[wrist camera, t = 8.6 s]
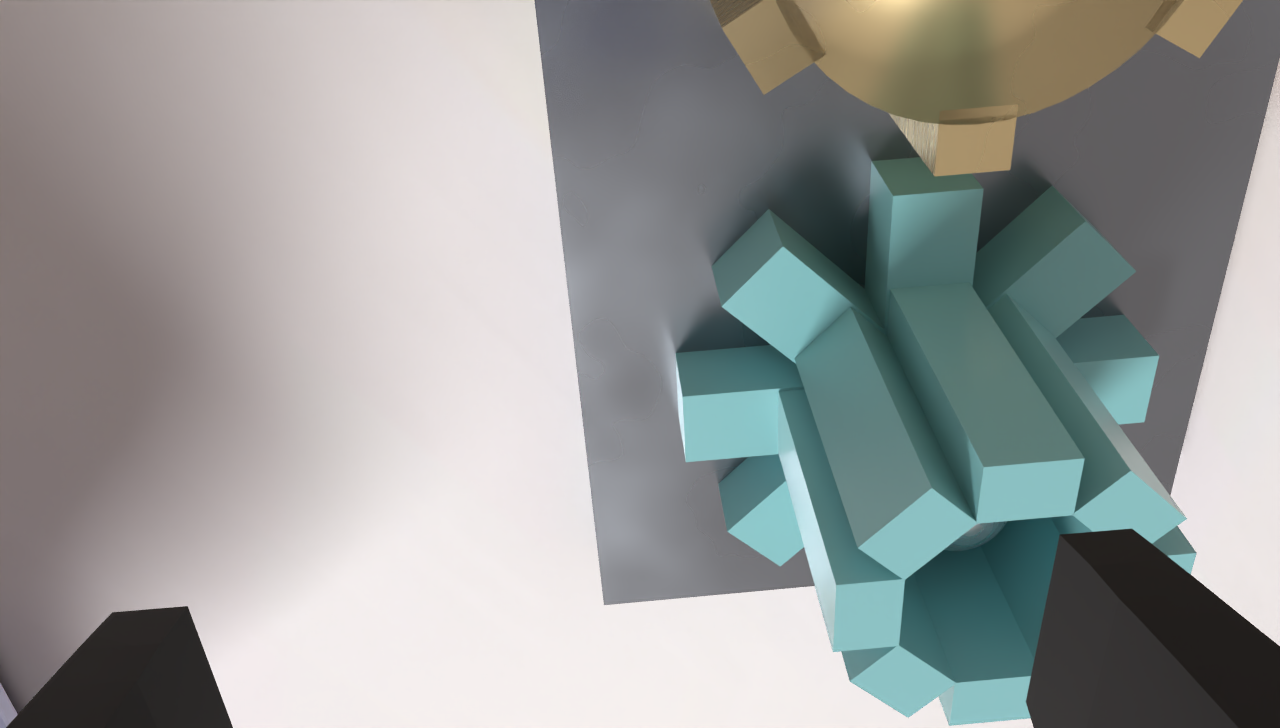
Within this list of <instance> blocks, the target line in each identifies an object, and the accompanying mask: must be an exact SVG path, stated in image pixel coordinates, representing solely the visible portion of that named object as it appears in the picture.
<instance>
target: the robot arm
mask: <svg viewBox="0 0 1280 728" xmlns="http://www.w3.org/2000/svg"><path fill="white" fill-rule="evenodd" d="M1026 704H1027V707H1028V711H1029V714H1030V717H1031V720H1032V723H1033V726H1034V728H1280V646H1278V645H1277V644H1276V643H1275V642H1274V641H1272V640H1271V639H1270V638H1269V637H1267V636H1266V635H1265V634H1264V633H1262V632H1261V631H1260V630H1259V629H1257V628H1256V627H1255V626H1254V625H1252V624H1251V623H1250V622H1249V621H1247V620H1246V619H1245V618H1244V617H1242V616H1241V615H1240V614H1239V613H1237V612H1236V611H1235V610H1234V609H1232V608H1231V607H1230V606H1229V605H1227V604H1226V603H1225V602H1224V601H1223V600H1221V599H1220V598H1219V597H1218V596H1216V595H1215V594H1214V593H1213V592H1211V591H1210V590H1209V589H1208V588H1206V587H1205V586H1204V585H1203V584H1202V583H1200V582H1199V581H1198V580H1197V579H1195V578H1194V577H1193V576H1192V575H1190V574H1189V573H1188V572H1187V571H1185V570H1184V569H1183V568H1182V567H1180V566H1179V565H1178V564H1177V563H1176V562H1174V561H1173V560H1172V559H1171V558H1169V557H1168V556H1167V555H1165V554H1164V553H1163V552H1162V551H1160V550H1159V549H1158V548H1157V547H1155V546H1154V545H1153V544H1152V543H1150V542H1149V541H1148V540H1146V539H1145V538H1144V537H1142V536H1141V535H1140V534H1139V533H1137V532H1136V531H1135V530H1133V529H1120V530H1108V531H1096V532H1084V533H1072V534H1060V535H1059V540H1058V545H1057V550H1056V555H1055V560H1054V565H1053V570H1052V575H1051V580H1050V585H1049V590H1048V595H1047V599H1046V604H1045V609H1044V614H1043V619H1042V624H1041V629H1040V634H1039V639H1038V644H1037V649H1036V654H1035V659H1034V664H1033V669H1032V673H1031V678H1030V683H1029V688H1028V693H1027V698H1026ZM0 728H233V727H232V724H231V721H230V719H229V716H228V713H227V711H226V708H225V705H224V703H223V700H222V697H221V695H220V692H219V689H218V687H217V684H216V681H215V679H214V676H213V673H212V670H211V668H210V665H209V662H208V660H207V657H206V654H205V652H204V649H203V646H202V644H201V641H200V638H199V636H198V633H197V630H196V628H195V625H194V622H193V620H192V617H191V614H190V612H189V609H188V606H185V607H173V608H161V609H149V610H137V611H125V612H112V614H111V615H110V616H109V617H108V618H107V619H106V620H105V621H104V622H103V623H102V624H101V625H100V626H99V627H98V628H97V629H96V630H95V631H94V632H93V633H92V634H91V635H90V637H89V638H88V639H87V640H86V641H85V642H84V643H83V644H82V645H81V646H80V647H79V648H78V649H77V651H76V652H75V653H74V654H73V655H72V656H71V657H70V658H69V659H68V660H67V661H66V663H65V664H64V665H63V666H62V667H61V668H60V669H59V670H58V671H57V672H56V673H55V675H54V676H53V677H52V678H51V679H50V680H49V681H48V682H47V683H46V684H45V685H44V687H43V688H42V689H41V690H40V691H39V692H38V693H37V694H36V695H35V696H34V697H33V699H32V700H31V701H30V702H29V703H28V704H27V705H26V706H25V707H24V708H23V709H22V711H21V712H20V713H19V714H17V712H16V710H15V709H14V707H13V705H12V703H11V701H10V700H9V698H8V696H7V694H6V692H5V691H4V689H3V687H2V685H1V683H0Z"/></svg>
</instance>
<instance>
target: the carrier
mask: <svg viewBox="0 0 1280 728" xmlns="http://www.w3.org/2000/svg"><path fill="white" fill-rule="evenodd" d="M535 8H536V17H537V26H538V34H539V43H540V52H541V60H542V69H543V78H544V86H545V95H546V104H547V113H548V121H549V130H550V139H551V147H552V156H553V165H554V173H555V182H556V191H557V200H558V208H559V217H560V226H561V234H562V243H563V252H564V261H565V269H566V278H567V287H568V295H569V304H570V313H571V321H572V330H573V339H574V348H575V356H576V365H577V374H578V382H579V391H580V400H581V408H582V417H583V426H584V435H585V443H586V452H587V461H588V469H589V478H590V487H591V495H592V504H593V513H594V522H595V530H596V539H597V548H598V556H599V565H600V574H601V582H602V591H603V600H604V605H610V604H621V603H632V602H643V601H654V600H665V599H675V598H686V597H697V596H708V595H719V594H730V593H741V592H752V591H763V590H774V589H785V588H796V587H807V586H815V584H814V581H813V577H812V573H811V570H810V566H809V563H808V559H807V555H806V552H805V548H804V547H803V548H802V549H801V550H800V551H799V552H797V553H796V554H795V555H794V556H792V557H791V558H790V559H789V560H788V561H786V562H785V563H784V564H783V565H782V566H779V565H777V564H776V563H774V562H773V561H771V560H770V559H768V558H767V557H765V556H764V555H762V554H761V553H759V552H758V551H756V550H754V549H753V548H751V547H750V546H748V545H747V544H745V543H744V542H742V541H741V540H739V539H738V538H736V537H735V536H733V535H732V534H730V533H729V532H727V527H726V522H725V517H724V512H723V506H722V501H721V496H720V491H719V485H718V484H719V483H720V482H721V481H722V480H723V479H724V478H725V477H726V476H728V475H729V474H730V473H731V472H732V471H733V470H734V469H735V468H737V467H738V466H739V465H740V464H741V463H742V462H743V461H744V460H746V459H747V458H748V457H741V458H729V459H718V460H706V461H695V462H686V460H685V454H684V447H683V441H682V435H681V428H680V422H679V413H678V395H677V376H676V357H675V353H682V352H694V351H706V350H717V349H729V348H741V347H752V346H764V345H771V344H769V343H768V342H767V341H766V340H764V339H763V338H762V337H760V336H759V335H758V334H756V333H755V332H754V331H753V330H751V329H750V328H749V327H747V326H746V325H745V324H743V323H742V322H741V321H740V320H738V319H737V318H736V317H734V316H733V315H732V314H730V313H729V312H728V311H727V310H725V309H724V308H723V307H721V303H720V299H719V295H718V291H717V287H716V283H715V279H714V275H713V271H712V267H711V266H712V265H713V264H714V263H715V262H716V261H717V260H718V259H719V258H720V257H721V256H722V255H723V254H724V253H725V252H726V251H727V250H728V249H729V248H730V247H731V246H732V245H733V244H734V243H735V242H736V241H737V240H738V239H739V238H740V237H741V236H742V235H743V234H744V233H745V232H746V231H747V230H748V229H749V228H750V227H751V226H752V225H753V224H754V223H755V222H756V221H757V220H758V219H759V218H760V217H761V216H762V215H763V214H764V213H765V212H766V211H767V210H768V209H770V210H771V211H772V212H773V213H774V214H776V215H777V216H778V217H779V218H780V219H782V220H783V221H784V222H785V223H786V224H787V225H789V226H790V227H791V228H792V229H793V230H795V231H796V232H797V233H798V234H799V235H801V236H802V237H803V238H804V239H805V240H807V241H808V242H809V243H810V244H811V245H813V246H814V247H815V248H816V249H817V250H819V251H820V252H821V253H822V254H823V255H824V256H826V257H827V258H828V259H829V260H830V261H832V262H833V263H834V264H835V265H836V266H838V267H839V268H840V269H841V270H842V271H844V272H845V273H846V274H847V275H848V276H850V277H851V278H852V279H853V280H854V281H856V282H857V283H858V284H859V285H860V286H862V287H863V288H864V289H865V272H866V253H867V235H868V216H869V198H870V179H871V161H879V160H891V159H903V158H916V157H921V159H922V160H923V162H924V163H925V164H926V166H927V167H928V168H929V170H930V171H931V173H932V174H933V175H934V177H935V176H946V175H958V174H970V173H972V175H973V176H974V177H975V178H976V180H977V181H978V182H979V183H980V185H981V186H982V187H983V188H984V190H983V198H982V207H981V216H980V225H979V233H978V242H977V251H976V253H977V252H978V251H979V250H980V249H981V248H983V247H984V246H985V245H986V244H987V243H988V242H989V241H990V240H992V239H993V238H994V237H995V236H996V235H997V234H998V233H999V232H1001V231H1002V230H1003V229H1004V228H1005V227H1006V226H1007V225H1008V224H1009V223H1011V222H1012V221H1013V220H1014V219H1015V218H1016V217H1017V216H1018V215H1020V214H1021V213H1022V212H1023V211H1024V210H1025V209H1026V208H1027V207H1028V206H1030V205H1031V204H1032V203H1033V202H1034V201H1035V200H1036V199H1037V198H1039V197H1040V196H1041V195H1042V194H1043V193H1044V192H1045V191H1046V190H1047V189H1049V188H1050V187H1051V186H1052V185H1053V186H1054V187H1055V188H1056V189H1057V190H1058V191H1059V192H1060V193H1061V194H1062V195H1063V196H1064V197H1065V198H1066V199H1067V200H1068V201H1069V202H1070V203H1071V204H1072V205H1073V206H1074V207H1075V208H1076V209H1077V210H1078V211H1079V212H1080V213H1081V214H1082V215H1083V216H1084V217H1085V218H1086V219H1087V220H1088V221H1089V222H1090V223H1091V224H1092V225H1093V226H1094V227H1095V228H1096V229H1097V230H1098V231H1099V232H1100V233H1101V234H1102V235H1103V236H1104V237H1105V238H1106V239H1107V240H1108V242H1109V243H1110V244H1111V245H1112V246H1113V247H1114V248H1115V249H1116V250H1117V251H1118V252H1119V253H1120V254H1121V255H1122V256H1123V258H1124V259H1125V260H1126V261H1127V262H1128V263H1129V264H1130V265H1131V266H1132V267H1133V268H1134V269H1135V270H1136V272H1135V273H1134V274H1133V275H1132V276H1130V277H1129V278H1128V279H1127V280H1126V281H1124V282H1123V283H1122V284H1121V285H1119V286H1118V287H1117V288H1116V289H1115V290H1113V291H1112V292H1111V293H1110V294H1109V295H1107V296H1106V297H1105V298H1104V299H1103V300H1101V301H1100V302H1099V303H1098V304H1097V305H1095V306H1094V307H1093V308H1092V309H1091V310H1089V311H1088V312H1087V313H1086V314H1084V315H1083V316H1082V317H1081V318H1092V317H1103V316H1115V315H1125V316H1126V318H1127V319H1128V320H1129V321H1130V322H1131V323H1132V325H1133V326H1134V327H1135V328H1136V329H1137V330H1138V332H1139V333H1140V334H1141V335H1142V336H1143V337H1144V338H1145V340H1146V341H1147V342H1148V343H1149V344H1150V345H1151V347H1152V348H1153V349H1154V350H1155V351H1156V352H1157V354H1158V355H1159V359H1158V364H1157V368H1156V372H1155V377H1154V381H1153V386H1152V390H1151V395H1150V399H1149V403H1148V408H1147V412H1146V417H1145V421H1144V422H1142V423H1130V424H1119V426H1120V428H1121V429H1122V430H1123V432H1124V433H1125V434H1126V436H1127V437H1128V439H1129V440H1130V441H1131V443H1132V444H1133V445H1134V447H1135V448H1136V450H1137V451H1138V452H1139V454H1140V455H1141V456H1142V458H1143V459H1144V461H1145V462H1146V463H1147V465H1148V466H1149V467H1150V469H1151V470H1152V472H1153V473H1154V474H1155V476H1156V477H1157V478H1158V480H1159V481H1160V483H1161V484H1162V485H1163V487H1164V488H1165V489H1166V491H1167V492H1168V494H1169V495H1170V494H1171V490H1172V486H1173V482H1174V478H1175V474H1176V470H1177V466H1178V462H1179V458H1180V454H1181V450H1182V446H1183V442H1184V438H1185V434H1186V430H1187V426H1188V422H1189V418H1190V414H1191V410H1192V406H1193V402H1194V398H1195V394H1196V390H1197V386H1198V382H1199V378H1200V374H1201V370H1202V366H1203V362H1204V358H1205V354H1206V350H1207V346H1208V342H1209V338H1210V334H1211V330H1212V326H1213V322H1214V318H1215V314H1216V310H1217V306H1218V302H1219V298H1220V294H1221V290H1222V286H1223V282H1224V278H1225V274H1226V270H1227V266H1228V262H1229V258H1230V254H1231V250H1232V246H1233V242H1234V238H1235V234H1236V230H1237V226H1238V222H1239V218H1240V214H1241V210H1242V206H1243V202H1244V198H1245V194H1246V190H1247V186H1248V182H1249V178H1250V174H1251V170H1252V166H1253V162H1254V158H1255V154H1256V150H1257V146H1258V142H1259V138H1260V134H1261V130H1262V126H1263V122H1264V118H1265V114H1266V110H1267V106H1268V102H1269V98H1270V94H1271V90H1272V86H1273V82H1274V78H1275V74H1276V70H1277V66H1278V62H1279V58H1280V0H535ZM1006 523H1007V521H1002V522H991V523H980V524H976V525H975V526H974V527H972V528H971V529H970V530H968V531H967V532H966V533H965V534H963V535H962V536H961V537H959V538H958V539H957V540H956V541H954V542H953V543H952V544H950V545H949V546H948V547H947V548H945V549H944V550H947V551H963V550H969V549H973V548H976V547H979V546H981V545H983V544H985V543H987V542H988V541H990V540H991V539H993V538H994V537H995V536H996V535H997V534H998V533H999V532H1000V531H1001V530H1002V529H1003V527H1004V526H1005V525H1006Z"/></svg>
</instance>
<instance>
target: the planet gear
mask: <svg viewBox="0 0 1280 728" xmlns="http://www.w3.org/2000/svg"><path fill="white" fill-rule="evenodd" d="M983 190H984V188H983V187H982V186H981V185H980V183H979V182H978V181H977V180H976V178H975V177H974V176H973V175H972V173H970V174H958V175H946V176H935V177H934V175H933V174H932V173H931V171H930V170H929V168H928V167H927V166H926V164H925V163H924V162H923V160H922V159H921V157H916V158H903V159H891V160H879V161H871V179H870V198H869V216H868V235H867V253H866V272H865V289H864V288H863V287H862V286H860V285H859V284H858V283H857V282H856V281H854V280H853V279H852V278H851V277H850V276H848V275H847V274H846V273H845V272H844V271H842V270H841V269H840V268H839V267H838V266H836V265H835V264H834V263H833V262H832V261H830V260H829V259H828V258H827V257H826V256H824V255H823V254H822V253H821V252H820V251H819V250H817V249H816V248H815V247H814V246H813V245H811V244H810V243H809V242H808V241H807V240H805V239H804V238H803V237H802V236H801V235H799V234H798V233H797V232H796V231H795V230H793V229H792V228H791V227H790V226H789V225H787V224H786V223H785V222H784V221H783V220H782V219H780V218H779V217H778V216H777V215H776V214H774V213H773V212H772V211H771V210H770V209H768V210H767V211H766V212H765V213H764V214H763V215H762V216H761V217H760V218H759V219H758V220H757V221H756V222H755V223H754V224H753V225H752V226H751V227H750V228H749V229H748V230H747V231H746V232H745V233H744V234H743V235H742V236H741V237H740V238H739V239H738V240H737V241H736V242H735V243H734V244H733V245H732V246H731V247H730V248H729V249H728V250H727V251H726V252H725V253H724V254H723V255H722V256H721V257H720V258H719V259H718V260H717V261H716V262H715V263H714V264H713V265H712V266H711V267H712V271H713V275H714V279H715V283H716V287H717V291H718V295H719V299H720V303H721V307H723V308H724V309H725V310H727V311H728V312H729V313H730V314H732V315H733V316H734V317H736V318H737V319H738V320H740V321H741V322H742V323H743V324H745V325H746V326H747V327H749V328H750V329H751V330H753V331H754V332H755V333H756V334H758V335H759V336H760V337H762V338H763V339H764V340H766V341H767V342H768V343H769V344H771V345H764V346H752V347H741V348H729V349H717V350H706V351H694V352H682V353H675V357H676V376H677V395H678V413H679V422H680V428H681V435H682V441H683V447H684V454H685V460H686V462H695V461H706V460H718V459H729V458H741V457H748V458H747V459H746V460H744V461H743V462H742V463H741V464H740V465H739V466H738V467H737V468H735V469H734V470H733V471H732V472H731V473H730V474H729V475H728V476H726V477H725V478H724V479H723V480H722V481H721V482H720V483H719V484H718V485H719V491H720V496H721V501H722V506H723V512H724V517H725V522H726V527H727V532H729V533H730V534H732V535H733V536H735V537H736V538H738V539H739V540H741V541H742V542H744V543H745V544H747V545H748V546H750V547H751V548H753V549H754V550H756V551H758V552H759V553H761V554H762V555H764V556H765V557H767V558H768V559H770V560H771V561H773V562H774V563H776V564H777V565H779V566H782V565H783V564H784V563H785V562H786V561H788V560H789V559H790V558H791V557H792V556H794V555H795V554H796V553H797V552H799V551H800V550H801V549H802V548H803V547H804V548H805V552H806V555H807V559H808V563H809V566H810V570H811V573H812V577H813V581H814V584H815V588H816V592H817V595H818V599H819V603H820V606H821V610H822V614H823V617H824V621H825V625H826V628H827V632H828V635H829V639H830V643H831V646H832V650H833V652H839V651H841V652H842V655H843V659H844V662H845V666H846V669H847V673H848V676H849V680H850V682H852V683H853V684H855V685H857V686H858V687H860V688H861V689H863V690H865V691H866V692H868V693H869V694H871V695H873V696H874V697H876V698H877V699H879V700H881V701H882V702H884V703H885V704H887V705H889V706H890V707H892V708H893V709H895V710H897V711H898V712H900V713H901V714H903V715H905V716H906V717H908V718H909V717H910V716H911V715H913V714H914V713H916V712H917V711H918V710H920V709H921V708H923V707H924V706H925V705H927V704H928V703H930V702H931V701H932V700H934V699H935V698H937V697H938V696H939V699H940V702H941V704H942V707H943V710H944V713H945V715H946V718H947V721H948V724H949V726H950V725H961V724H972V723H983V722H994V721H1005V720H1016V719H1027V718H1031V717H1030V714H1029V711H1028V707H1027V704H1026V698H1027V693H1028V688H1029V683H1030V678H1031V673H1032V669H1033V664H1034V659H1035V654H1036V649H1037V644H1038V639H1039V634H1040V629H1041V624H1042V619H1043V614H1044V609H1045V604H1046V599H1047V595H1048V590H1049V585H1050V580H1051V575H1052V570H1053V565H1054V560H1055V555H1056V550H1057V545H1058V540H1059V535H1060V534H1072V533H1084V532H1096V531H1108V530H1120V529H1133V530H1135V531H1136V532H1137V533H1139V534H1140V535H1141V536H1142V537H1144V538H1145V539H1146V540H1148V541H1149V542H1150V543H1152V544H1153V545H1154V546H1155V547H1157V548H1158V549H1159V550H1160V551H1162V552H1163V553H1164V554H1165V555H1167V556H1168V557H1169V558H1171V559H1172V560H1173V561H1174V562H1176V563H1177V564H1178V565H1179V566H1180V567H1182V568H1183V569H1184V570H1185V571H1187V572H1188V573H1189V574H1191V571H1192V567H1193V564H1194V560H1195V557H1196V552H1195V550H1194V549H1193V547H1192V546H1191V545H1190V543H1189V542H1188V540H1187V539H1186V538H1185V536H1184V535H1183V533H1182V532H1181V531H1180V529H1179V528H1178V526H1177V525H1179V524H1180V523H1182V522H1183V521H1184V520H1186V519H1187V518H1186V517H1185V515H1184V514H1183V513H1182V511H1181V510H1180V509H1179V507H1178V506H1177V504H1176V503H1175V502H1174V500H1173V499H1172V498H1171V496H1170V495H1169V494H1168V492H1167V491H1166V489H1165V488H1164V487H1163V485H1162V484H1161V483H1160V481H1159V480H1158V478H1157V477H1156V476H1155V474H1154V473H1153V472H1152V470H1151V469H1150V467H1149V466H1148V465H1147V463H1146V462H1145V461H1144V459H1143V458H1142V456H1141V455H1140V454H1139V452H1138V451H1137V450H1136V448H1135V447H1134V445H1133V444H1132V443H1131V441H1130V440H1129V439H1128V437H1127V436H1126V434H1125V433H1124V432H1123V430H1122V429H1121V428H1120V426H1119V424H1130V423H1142V422H1144V421H1145V417H1146V412H1147V408H1148V403H1149V399H1150V395H1151V390H1152V386H1153V381H1154V377H1155V372H1156V368H1157V364H1158V359H1159V355H1158V354H1157V352H1156V351H1155V350H1154V349H1153V348H1152V347H1151V345H1150V344H1149V343H1148V342H1147V341H1146V340H1145V338H1144V337H1143V336H1142V335H1141V334H1140V333H1139V332H1138V330H1137V329H1136V328H1135V327H1134V326H1133V325H1132V323H1131V322H1130V321H1129V320H1128V319H1127V318H1126V316H1125V315H1115V316H1103V317H1092V318H1081V317H1082V316H1083V315H1084V314H1086V313H1087V312H1088V311H1089V310H1091V309H1092V308H1093V307H1094V306H1095V305H1097V304H1098V303H1099V302H1100V301H1101V300H1103V299H1104V298H1105V297H1106V296H1107V295H1109V294H1110V293H1111V292H1112V291H1113V290H1115V289H1116V288H1117V287H1118V286H1119V285H1121V284H1122V283H1123V282H1124V281H1126V280H1127V279H1128V278H1129V277H1130V276H1132V275H1133V274H1134V273H1135V272H1136V270H1135V269H1134V268H1133V267H1132V266H1131V265H1130V264H1129V263H1128V262H1127V261H1126V260H1125V259H1124V258H1123V256H1122V255H1121V254H1120V253H1119V252H1118V251H1117V250H1116V249H1115V248H1114V247H1113V246H1112V245H1111V244H1110V243H1109V242H1108V240H1107V239H1106V238H1105V237H1104V236H1103V235H1102V234H1101V233H1100V232H1099V231H1098V230H1097V229H1096V228H1095V227H1094V226H1093V225H1092V224H1091V223H1090V222H1089V221H1088V220H1087V219H1086V218H1085V217H1084V216H1083V215H1082V214H1081V213H1080V212H1079V211H1078V210H1077V209H1076V208H1075V207H1074V206H1073V205H1072V204H1071V203H1070V202H1069V201H1068V200H1067V199H1066V198H1065V197H1064V196H1063V195H1062V194H1061V193H1060V192H1059V191H1058V190H1057V189H1056V188H1055V187H1054V186H1053V185H1052V186H1051V187H1050V188H1049V189H1047V190H1046V191H1045V192H1044V193H1043V194H1042V195H1041V196H1040V197H1039V198H1037V199H1036V200H1035V201H1034V202H1033V203H1032V204H1031V205H1030V206H1028V207H1027V208H1026V209H1025V210H1024V211H1023V212H1022V213H1021V214H1020V215H1018V216H1017V217H1016V218H1015V219H1014V220H1013V221H1012V222H1011V223H1009V224H1008V225H1007V226H1006V227H1005V228H1004V229H1003V230H1002V231H1001V232H999V233H998V234H997V235H996V236H995V237H994V238H993V239H992V240H990V241H989V242H988V243H987V244H986V245H985V246H984V247H983V248H981V249H980V250H979V251H978V252H977V253H976V251H977V242H978V233H979V225H980V216H981V207H982V198H983ZM1002 521H1007V523H1006V525H1005V526H1004V527H1003V529H1002V530H1001V531H1000V532H999V533H998V534H997V535H996V536H995V537H994V538H993V539H991V540H990V541H988V542H987V543H985V544H983V545H981V546H979V547H976V548H973V549H969V550H963V551H947V550H944V549H945V548H947V547H948V546H949V545H950V544H952V543H953V542H954V541H956V540H957V539H958V538H959V537H961V536H962V535H963V534H965V533H966V532H967V531H968V530H970V529H971V528H972V527H974V526H975V525H976V524H980V523H991V522H1002Z"/></svg>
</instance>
